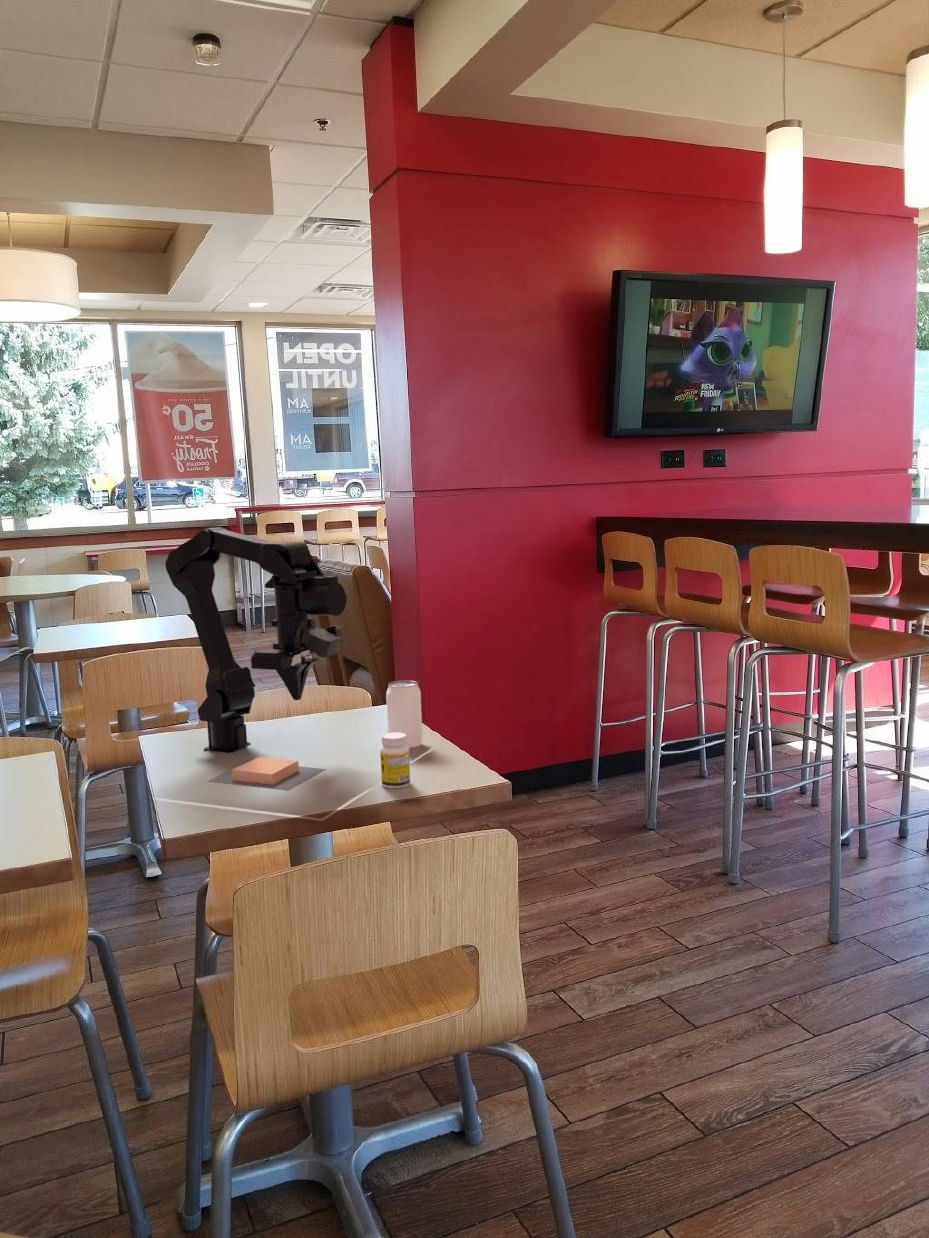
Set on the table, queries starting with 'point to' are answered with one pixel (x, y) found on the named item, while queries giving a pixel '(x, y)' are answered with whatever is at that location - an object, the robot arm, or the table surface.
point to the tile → (265, 770)
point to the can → (405, 711)
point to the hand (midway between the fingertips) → (297, 699)
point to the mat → (284, 784)
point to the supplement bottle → (395, 761)
